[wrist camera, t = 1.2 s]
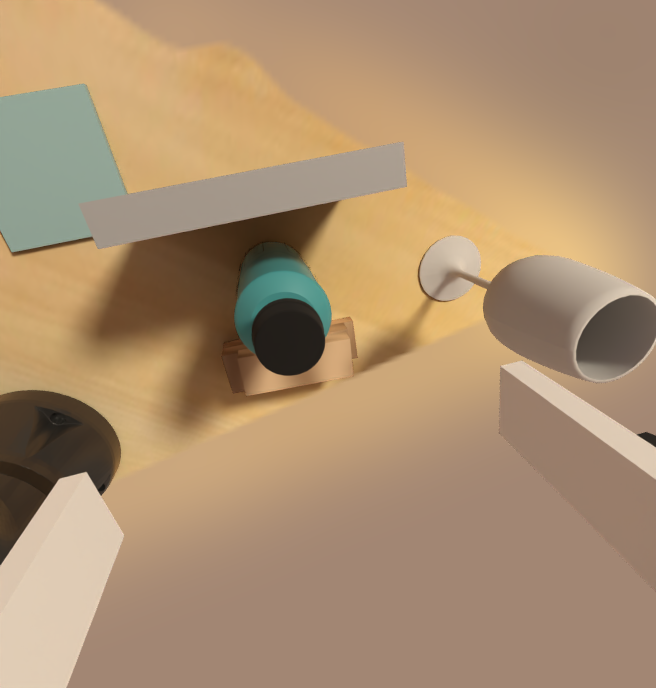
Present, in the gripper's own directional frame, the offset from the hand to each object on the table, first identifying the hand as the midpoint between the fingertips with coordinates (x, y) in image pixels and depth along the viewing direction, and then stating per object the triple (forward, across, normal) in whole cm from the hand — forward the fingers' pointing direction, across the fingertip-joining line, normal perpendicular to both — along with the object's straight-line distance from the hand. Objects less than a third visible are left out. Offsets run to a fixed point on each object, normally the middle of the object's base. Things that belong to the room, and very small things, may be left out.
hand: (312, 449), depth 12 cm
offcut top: (+25, 0, -9) cm, 27 cm away
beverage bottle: (+29, 0, 0) cm, 29 cm away
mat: (+28, -17, +12) cm, 35 cm away
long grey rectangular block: (+28, 0, +8) cm, 29 cm away
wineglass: (+29, +19, -4) cm, 35 cm away
